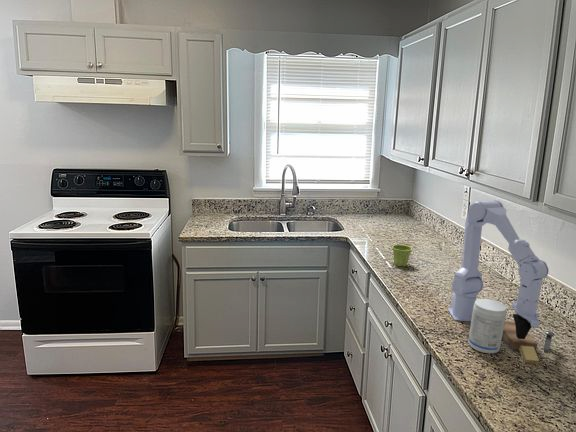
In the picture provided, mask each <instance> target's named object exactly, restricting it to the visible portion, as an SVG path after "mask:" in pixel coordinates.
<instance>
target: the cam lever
mask: <svg viewBox="0 0 576 432" xmlns="http://www.w3.org/2000/svg"><path fill="white" fill-rule="evenodd" d="M544 335H545V341H544V343H543V345H544V346H543V354H544V353H545V354H549V351H550V347H551V344H552V338H553V337H554V336H555V333H554V332H553V331H551V330H546V331H545V333H544Z"/></svg>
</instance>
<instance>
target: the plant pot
mask: <svg viewBox="0 0 576 432" xmlns="http://www.w3.org/2000/svg"><path fill="white" fill-rule="evenodd" d="M391 248H392V251H393V264H394V265H395V266H398V267H406V266H407V265H408V262H409V258H410V254H411V252H412V250H413V247H411V246H409V245H405V244H393V245H392V246H391Z"/></svg>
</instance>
